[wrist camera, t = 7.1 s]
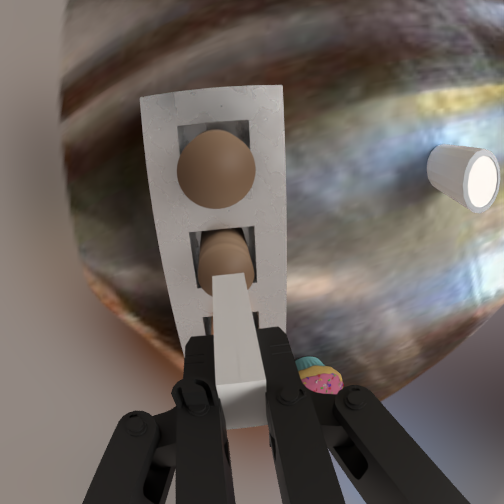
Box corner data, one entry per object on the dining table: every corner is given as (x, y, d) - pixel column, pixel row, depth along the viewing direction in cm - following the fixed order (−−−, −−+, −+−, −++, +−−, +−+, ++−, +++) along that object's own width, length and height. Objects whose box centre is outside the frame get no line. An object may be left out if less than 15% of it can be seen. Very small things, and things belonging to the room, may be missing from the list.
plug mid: (198, 219, 27) (194, 253, 20) (242, 215, 27) (252, 247, 21) (203, 260, 28) (201, 302, 22) (245, 255, 29) (255, 296, 22)
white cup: (416, 186, 30) (455, 205, 23) (430, 130, 27) (473, 138, 21) (452, 200, 31) (490, 220, 25) (466, 150, 28) (506, 162, 22)
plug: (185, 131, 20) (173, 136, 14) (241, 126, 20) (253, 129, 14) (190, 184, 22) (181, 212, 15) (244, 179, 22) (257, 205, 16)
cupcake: (342, 362, 40) (374, 427, 29) (297, 394, 42) (317, 459, 31) (309, 336, 37) (340, 410, 26) (259, 372, 38) (275, 447, 28)
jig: (155, 102, 23) (139, 97, 18) (267, 92, 24) (282, 85, 19) (191, 338, 34) (189, 374, 29) (274, 329, 35) (284, 364, 30)
